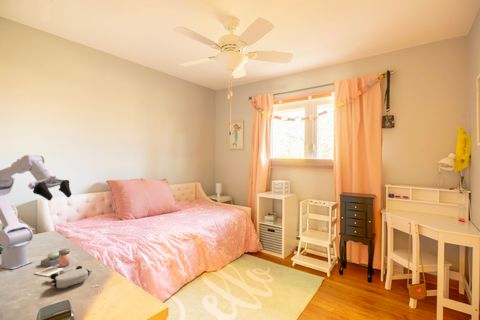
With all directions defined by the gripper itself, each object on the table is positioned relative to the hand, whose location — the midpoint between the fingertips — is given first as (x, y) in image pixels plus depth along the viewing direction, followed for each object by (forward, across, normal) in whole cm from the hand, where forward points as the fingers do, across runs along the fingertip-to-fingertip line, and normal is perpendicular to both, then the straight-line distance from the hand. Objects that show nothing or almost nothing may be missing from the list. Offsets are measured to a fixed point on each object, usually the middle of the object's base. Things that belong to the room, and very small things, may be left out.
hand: (60, 197), depth 96 cm
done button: (+10, +6, +32) cm, 34 cm away
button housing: (+11, +6, +33) cm, 35 cm away
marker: (+17, +5, +28) cm, 33 cm away
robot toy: (+29, -4, +17) cm, 34 cm away
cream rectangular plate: (+16, -1, +28) cm, 32 cm away
